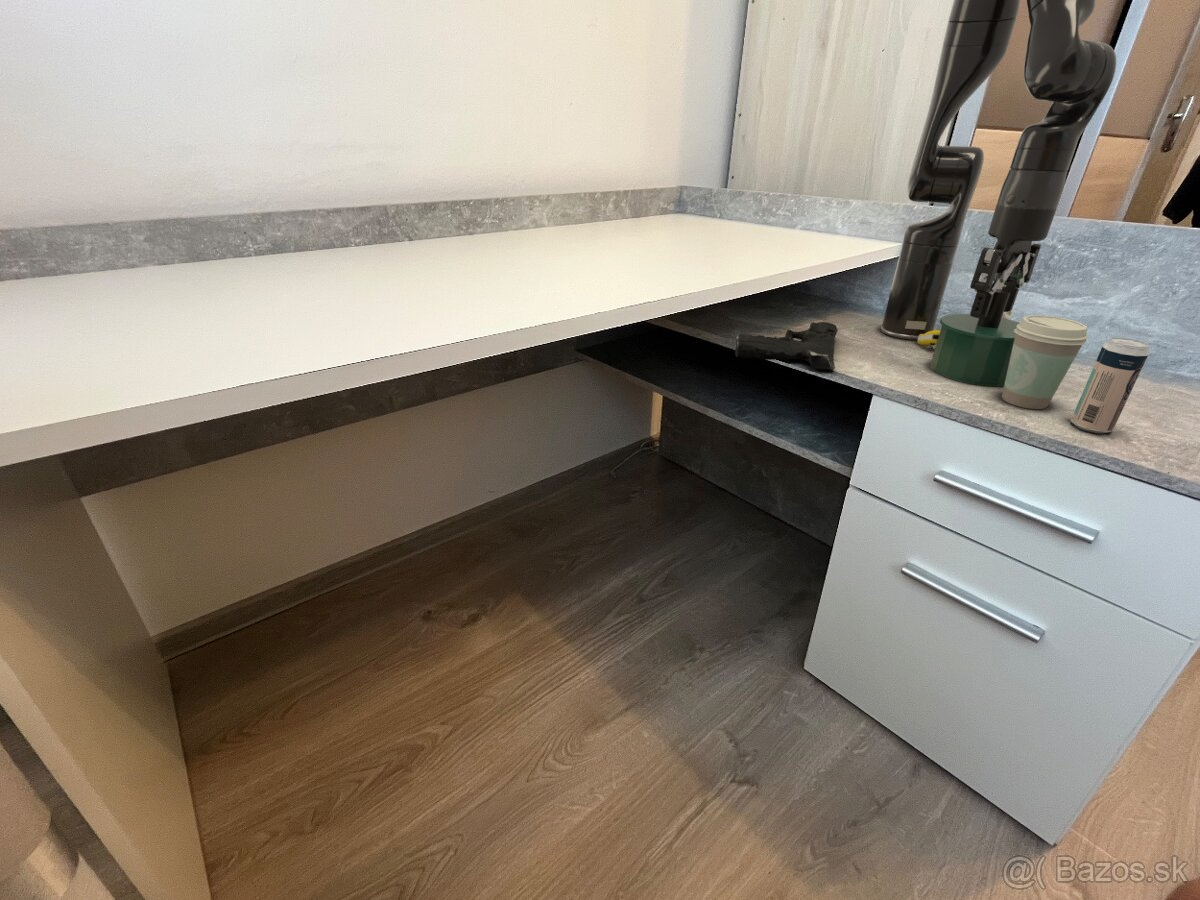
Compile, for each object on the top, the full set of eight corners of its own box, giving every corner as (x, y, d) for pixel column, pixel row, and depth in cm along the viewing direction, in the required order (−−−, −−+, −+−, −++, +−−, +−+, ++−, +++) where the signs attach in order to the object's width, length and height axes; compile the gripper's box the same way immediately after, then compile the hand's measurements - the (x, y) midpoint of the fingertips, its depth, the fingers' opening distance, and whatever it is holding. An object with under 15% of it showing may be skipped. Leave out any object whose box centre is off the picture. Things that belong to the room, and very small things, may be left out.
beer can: (1120, 437, 79) (1162, 349, 73) (1079, 433, 80) (1118, 346, 74) (1100, 422, 83) (1139, 338, 77) (1062, 418, 84) (1097, 335, 78)
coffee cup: (987, 387, 94) (1013, 311, 88) (1051, 396, 91) (1082, 318, 86) (996, 407, 87) (1025, 326, 81) (1065, 417, 84) (1100, 334, 79)
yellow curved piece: (922, 347, 108) (926, 327, 108) (915, 350, 114) (918, 331, 114) (984, 354, 105) (988, 334, 105) (973, 356, 111) (977, 337, 111)
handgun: (746, 327, 120) (748, 310, 118) (834, 337, 115) (838, 319, 114) (729, 361, 103) (732, 342, 101) (832, 375, 98) (836, 354, 96)
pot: (920, 357, 106) (932, 315, 103) (997, 362, 105) (1012, 320, 101) (944, 382, 95) (958, 336, 92) (1030, 389, 94) (1048, 342, 90)
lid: (927, 317, 104) (938, 279, 100) (1012, 323, 102) (1026, 283, 99) (955, 341, 92) (968, 298, 89) (1052, 348, 90) (1069, 304, 87)
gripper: (1033, 208, 81) (993, 326, 89) (1076, 205, 89) (1036, 313, 96) (976, 203, 87) (943, 314, 94) (1021, 200, 94) (987, 303, 102)
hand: (990, 314), depth 95 cm, fingers open, 8 cm apart
